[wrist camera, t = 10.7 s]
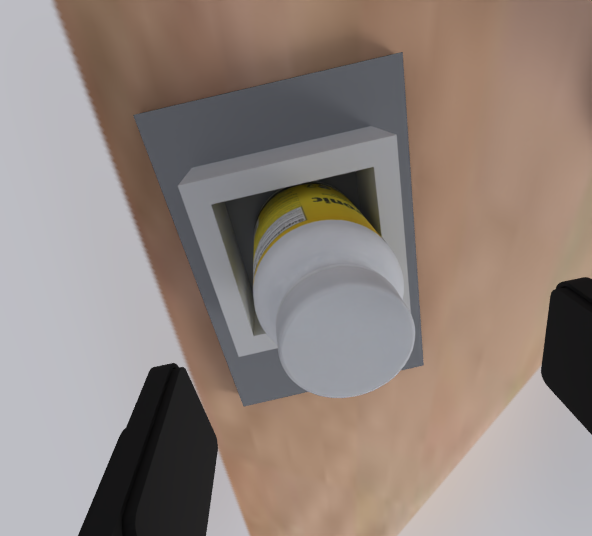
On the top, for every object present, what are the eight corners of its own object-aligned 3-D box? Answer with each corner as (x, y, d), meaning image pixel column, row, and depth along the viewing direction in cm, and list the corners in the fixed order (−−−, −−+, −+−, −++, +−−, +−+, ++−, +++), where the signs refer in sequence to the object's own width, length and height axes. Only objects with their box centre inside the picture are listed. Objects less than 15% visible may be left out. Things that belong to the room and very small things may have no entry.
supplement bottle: (377, 229, 20) (475, 344, 11) (303, 293, 21) (336, 443, 12) (309, 153, 18) (362, 220, 9) (231, 230, 19) (210, 354, 10)
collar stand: (394, 54, 17) (437, 44, 13) (417, 355, 25) (448, 406, 21) (139, 113, 17) (104, 122, 13) (244, 395, 25) (241, 453, 21)
